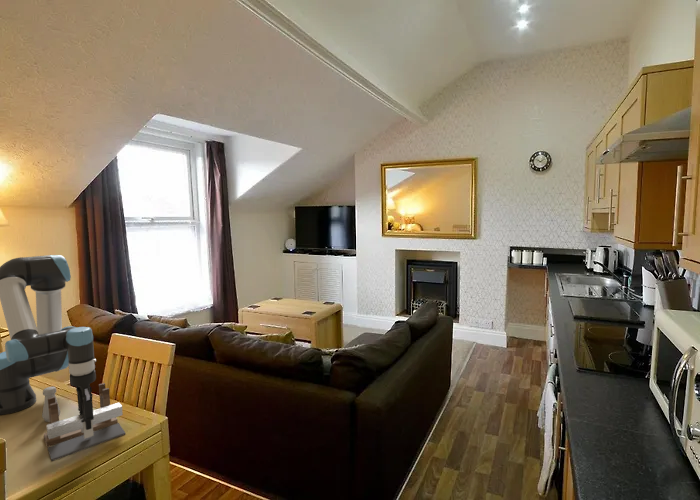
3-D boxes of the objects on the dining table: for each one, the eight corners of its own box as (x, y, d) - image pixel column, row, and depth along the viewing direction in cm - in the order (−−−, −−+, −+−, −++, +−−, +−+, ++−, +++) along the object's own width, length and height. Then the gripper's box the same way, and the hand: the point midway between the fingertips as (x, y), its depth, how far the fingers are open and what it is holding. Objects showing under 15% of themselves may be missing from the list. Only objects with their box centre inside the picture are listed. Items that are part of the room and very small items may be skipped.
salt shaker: (50, 424, 151) (48, 392, 150) (38, 422, 152) (35, 390, 151) (64, 416, 157) (62, 385, 155) (52, 414, 158) (50, 384, 156)
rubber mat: (47, 448, 136) (47, 447, 136) (118, 424, 151) (118, 423, 151) (51, 461, 129) (51, 459, 129) (125, 434, 145) (125, 432, 145)
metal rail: (47, 434, 133) (46, 424, 133) (119, 411, 149) (119, 402, 148) (49, 439, 130) (48, 429, 130) (122, 415, 146) (122, 406, 145)
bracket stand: (43, 437, 143) (40, 399, 141) (112, 415, 158) (109, 380, 156) (47, 447, 137) (43, 408, 135) (117, 422, 152) (115, 387, 150)
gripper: (100, 375, 134) (105, 439, 136) (89, 361, 146) (94, 420, 149) (74, 382, 129) (79, 449, 131) (65, 367, 141) (70, 428, 143)
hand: (87, 433), depth 140 cm, fingers closed on metal rail, 4 cm apart
